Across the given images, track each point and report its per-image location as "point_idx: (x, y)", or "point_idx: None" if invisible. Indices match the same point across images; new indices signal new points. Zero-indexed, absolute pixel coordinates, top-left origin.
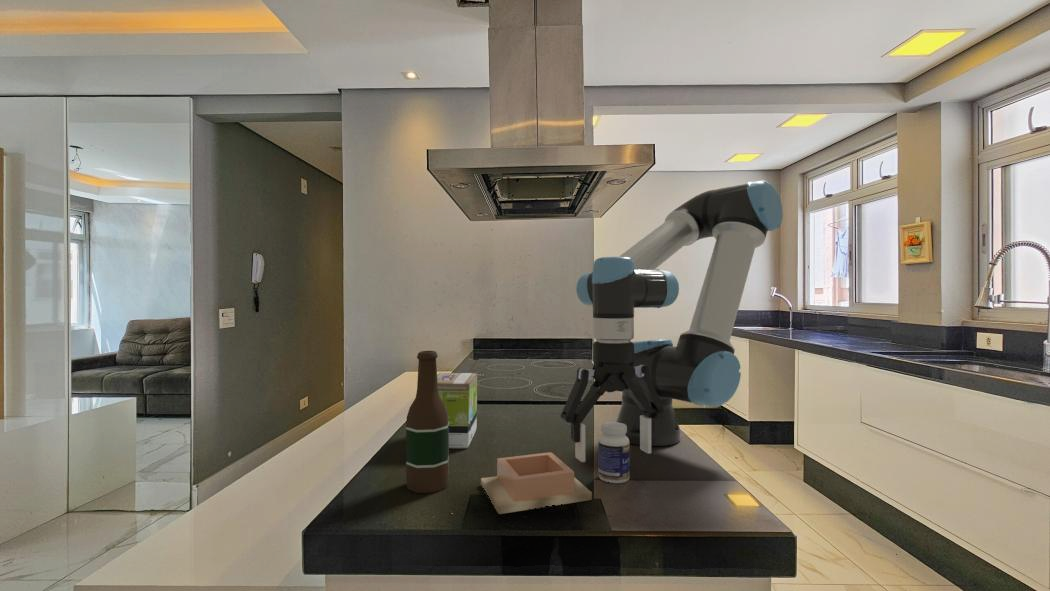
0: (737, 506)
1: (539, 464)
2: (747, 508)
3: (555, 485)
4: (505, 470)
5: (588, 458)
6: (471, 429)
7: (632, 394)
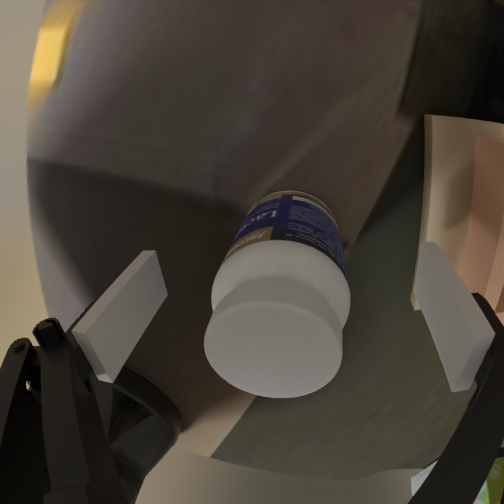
0: (68, 20)
1: (502, 295)
2: (58, 13)
3: None
4: None
5: None
6: None
7: (97, 476)
